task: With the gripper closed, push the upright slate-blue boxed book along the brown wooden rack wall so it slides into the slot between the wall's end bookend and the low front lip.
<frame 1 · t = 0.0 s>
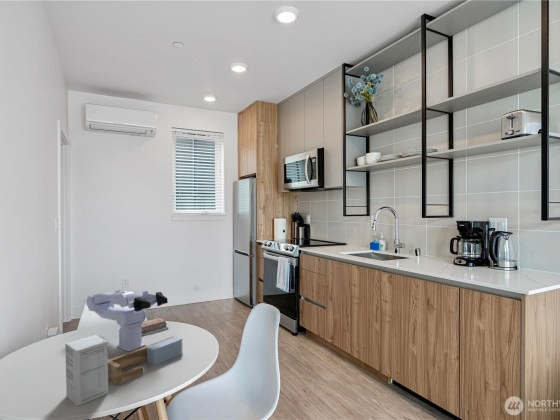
hand: (158, 302, 133), 22 cm above the table, tool horizontal, fingers open, 7 cm apart
boxed book: (165, 358, 133), on the table
brown wooden rack: (147, 364, 127), on the table
reddish brown block: (146, 332, 162), on the table
supplement box: (87, 395, 106), on the table
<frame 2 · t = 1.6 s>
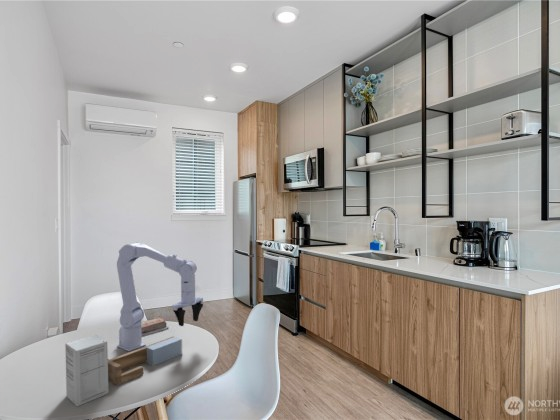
hand: (188, 323, 142), 10 cm above the table, tool pointing down, fingers open, 7 cm apart
nothing on the table moved.
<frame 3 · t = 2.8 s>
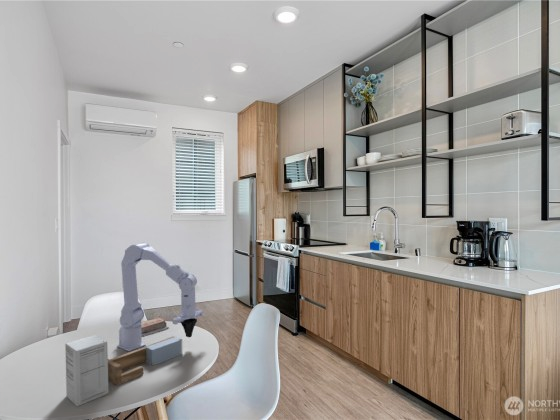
hand: (188, 336, 142), 5 cm above the table, tool pointing down, fingers closed
nothing on the table moved.
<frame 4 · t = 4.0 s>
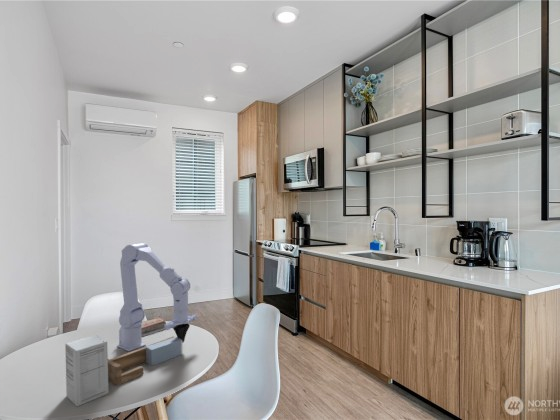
hand: (181, 342, 139), 4 cm above the table, tool pointing down, fingers closed
boxed book: (164, 358, 132), on the table, touching gripper
everything else where it was.
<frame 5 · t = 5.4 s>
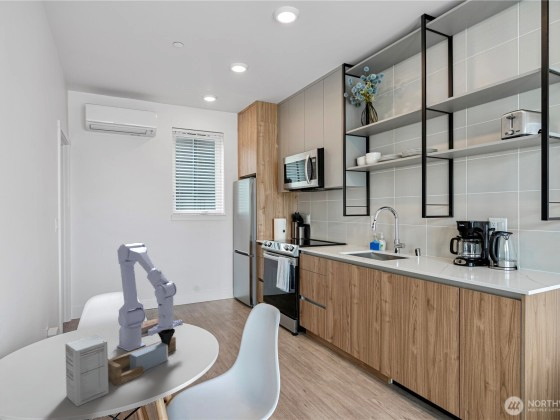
hand: (166, 348, 133), 4 cm above the table, tool pointing down, fingers closed
boxed book: (149, 365, 126), on the table, touching gripper
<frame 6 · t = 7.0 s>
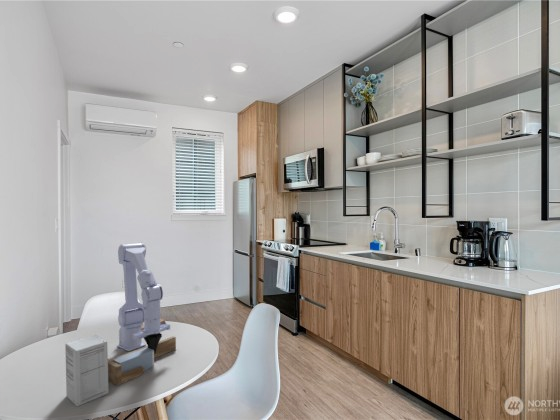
hand: (152, 353, 128), 4 cm above the table, tool pointing down, fingers closed
boxed book: (134, 371, 122), on the table, touching gripper
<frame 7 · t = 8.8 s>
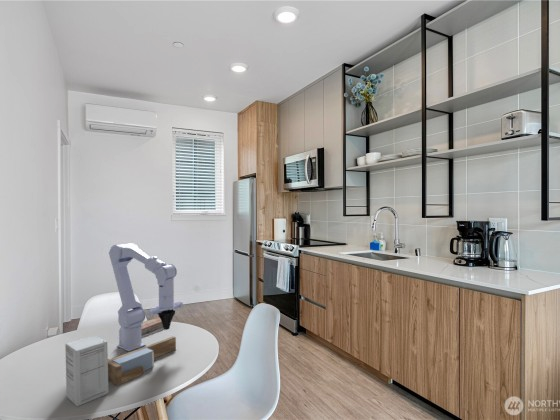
hand: (166, 328, 136), 10 cm above the table, tool pointing down, fingers closed
boxed book: (134, 371, 122), on the table
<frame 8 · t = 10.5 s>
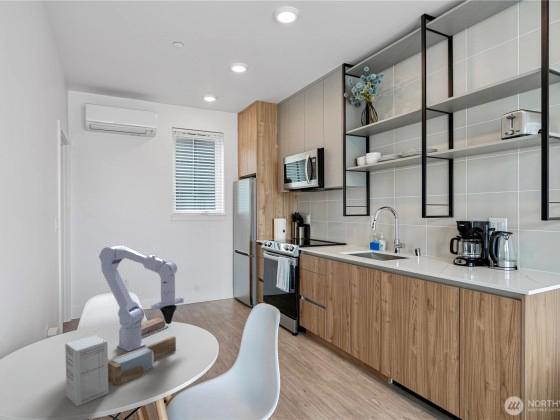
hand: (168, 323, 142), 10 cm above the table, tool pointing down, fingers closed
at the end: boxed book inside the target area (0.5 cm from its centre), on the table; boxed book tilted 0°; the gripper is holding nothing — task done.
